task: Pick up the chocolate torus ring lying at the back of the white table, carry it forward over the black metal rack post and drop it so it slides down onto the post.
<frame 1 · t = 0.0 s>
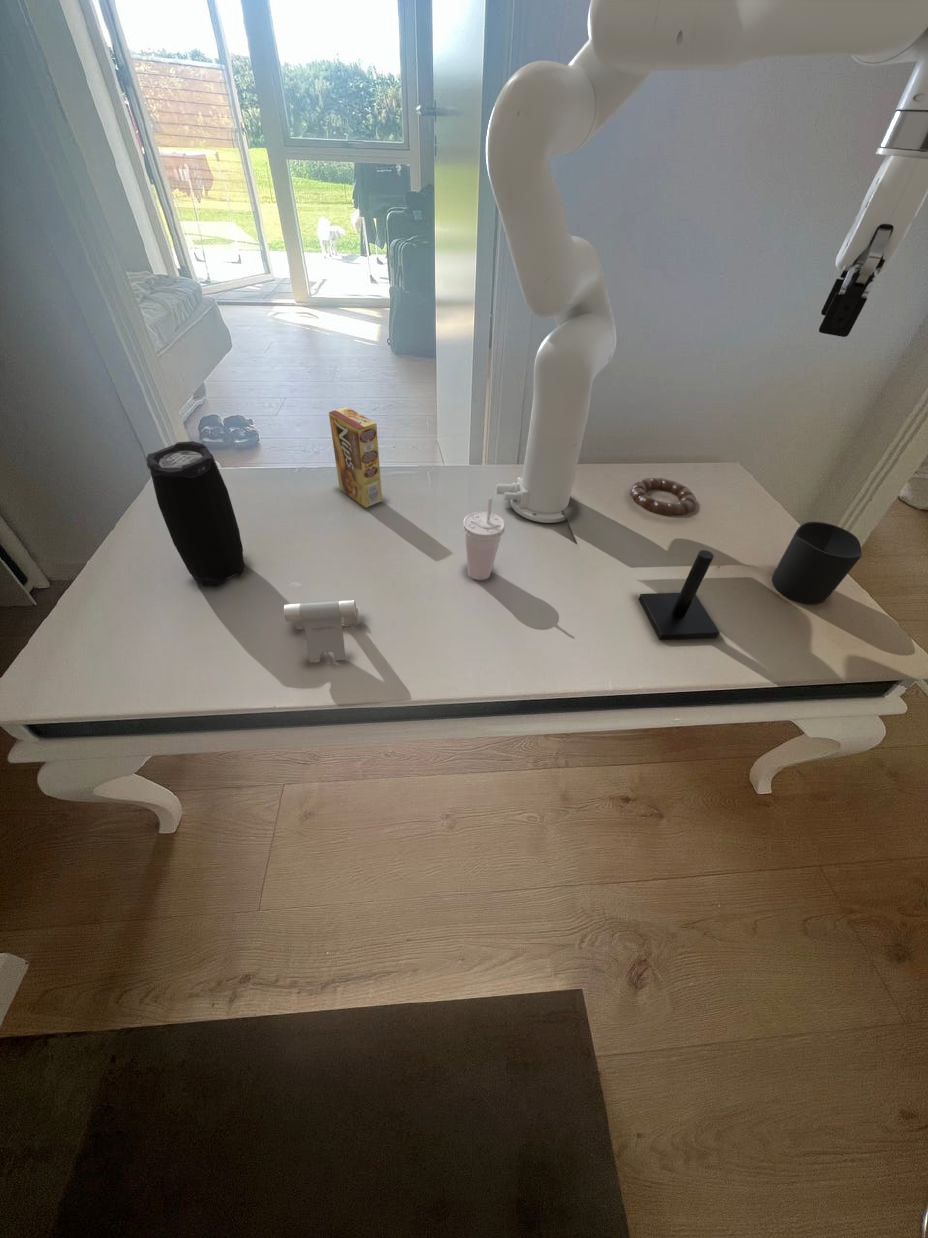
hand: (832, 324, 65), 37 cm above the table, tool pointing down, fingers open, 9 cm apart
chocolate torus ring: (662, 497, 103), point 1 cm above the table
smoothie: (479, 573, 85), on the table
candy box: (360, 496, 100), on the table
rack: (676, 618, 80), on the table
portable speaker: (219, 571, 82), on the table
tablet stand: (328, 641, 73), on the table
pen holder: (797, 589, 87), on the table
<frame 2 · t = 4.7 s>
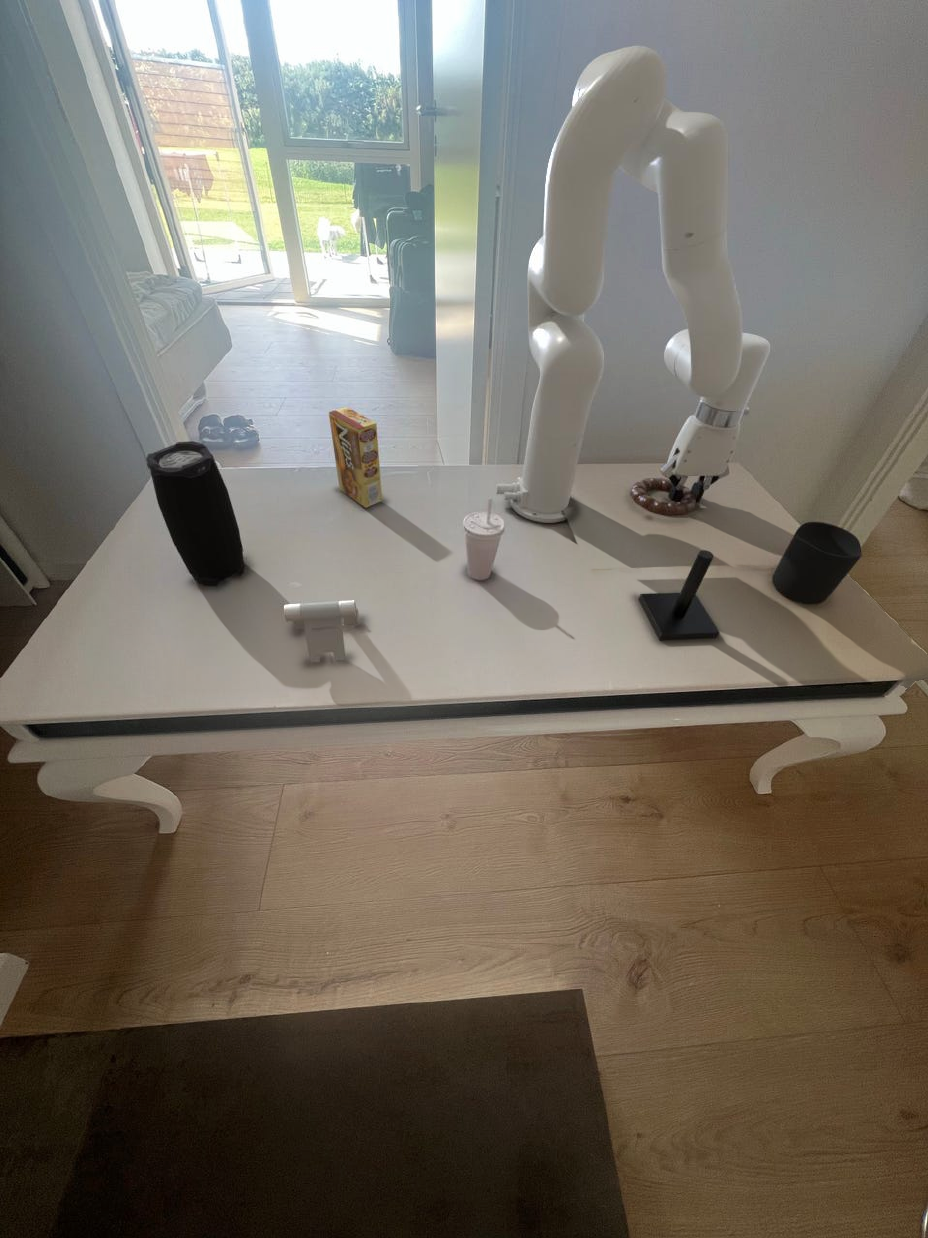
hand: (682, 503, 104), 0 cm above the table, tool pointing down, fingers closed on chocolate torus ring, 3 cm apart
chocolate torus ring: (662, 497, 103), point 2 cm above the table, touching gripper
everything else where it was.
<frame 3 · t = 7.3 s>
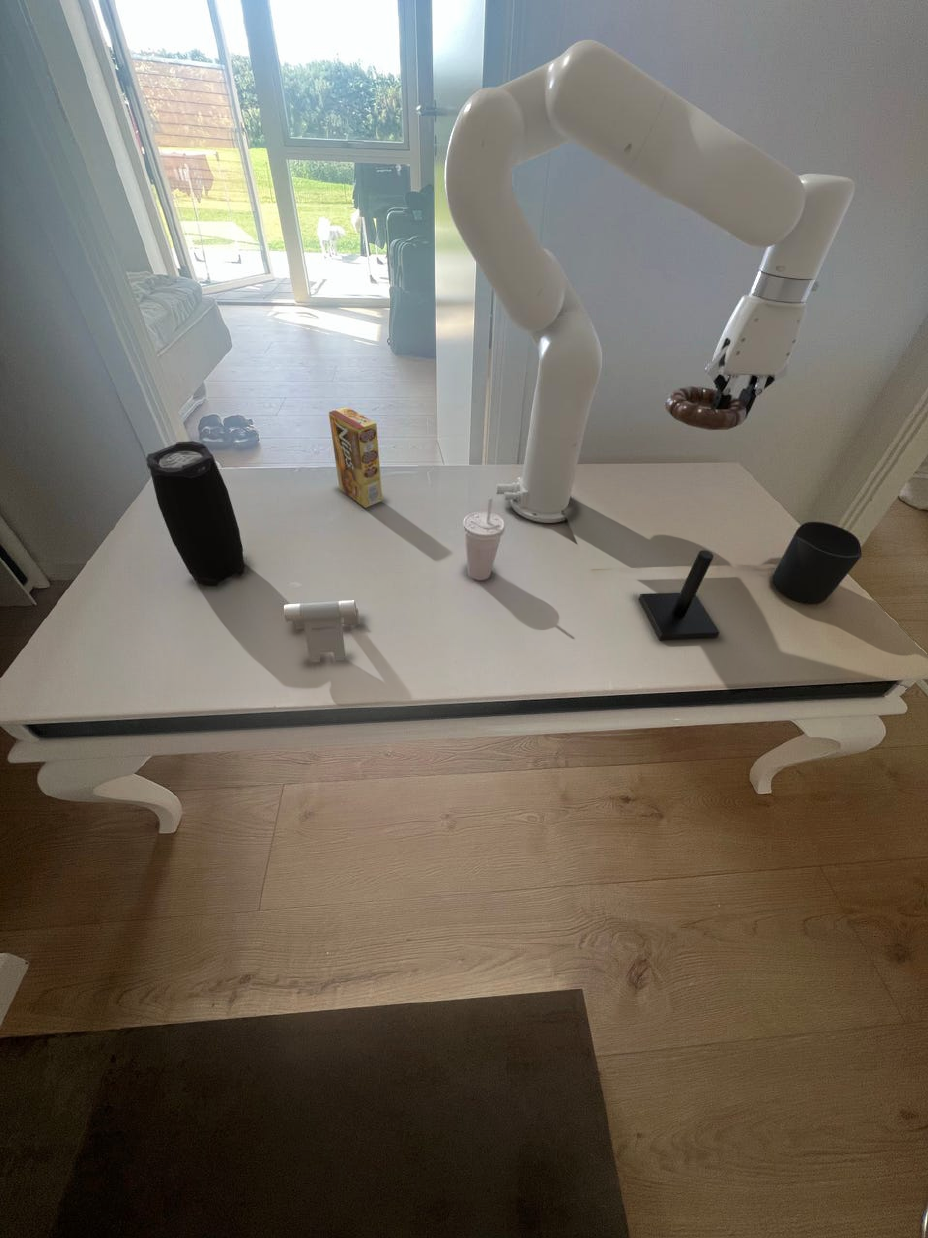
hand: (727, 415, 86), 20 cm above the table, tool pointing down, fingers closed on chocolate torus ring, 3 cm apart
chocolate torus ring: (705, 407, 85), point 21 cm above the table, touching gripper
everything else where it was.
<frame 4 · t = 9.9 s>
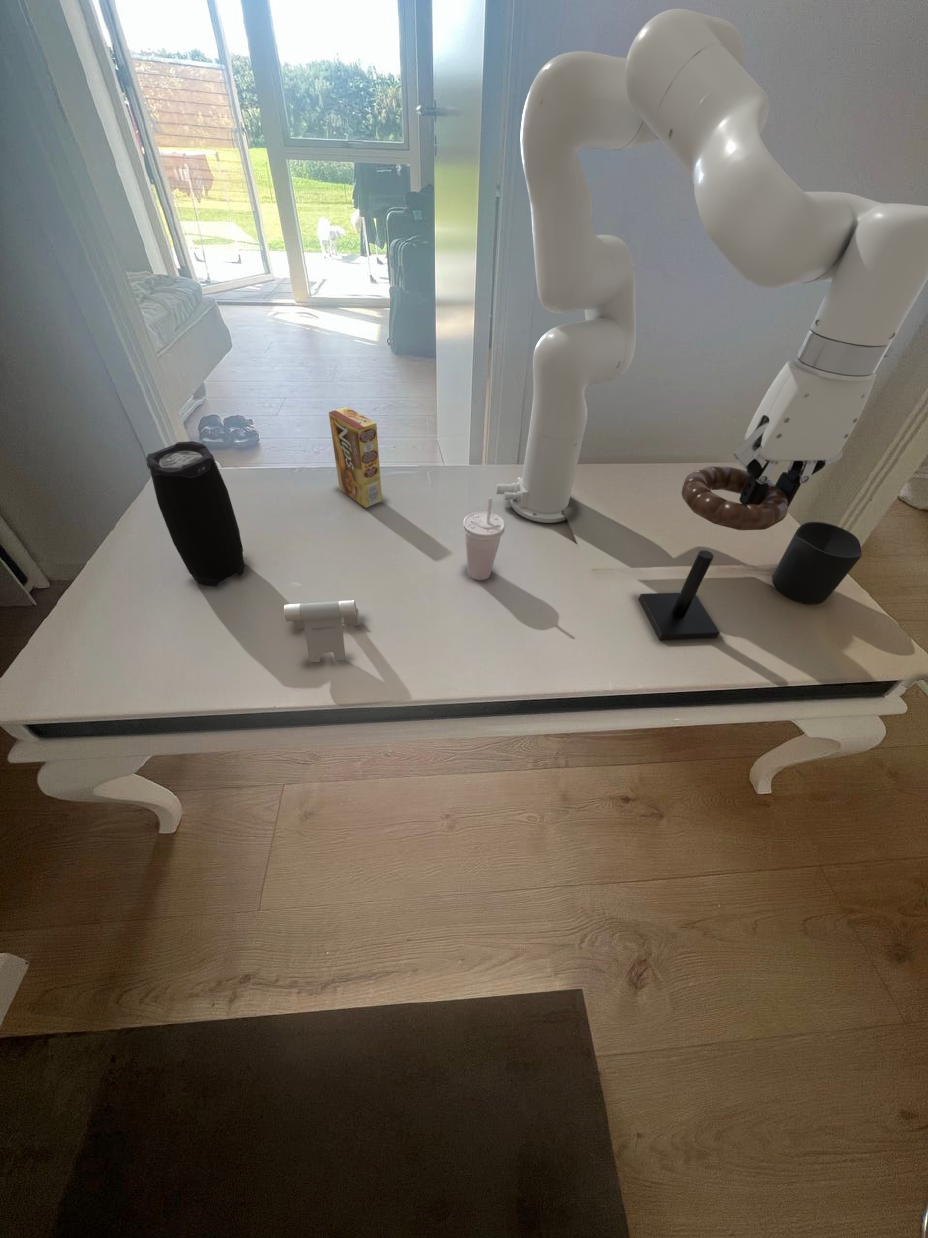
hand: (762, 505, 67), 19 cm above the table, tool pointing down, fingers closed on chocolate torus ring, 3 cm apart
chocolate torus ring: (733, 496, 66), point 21 cm above the table, touching gripper
everything else where it was.
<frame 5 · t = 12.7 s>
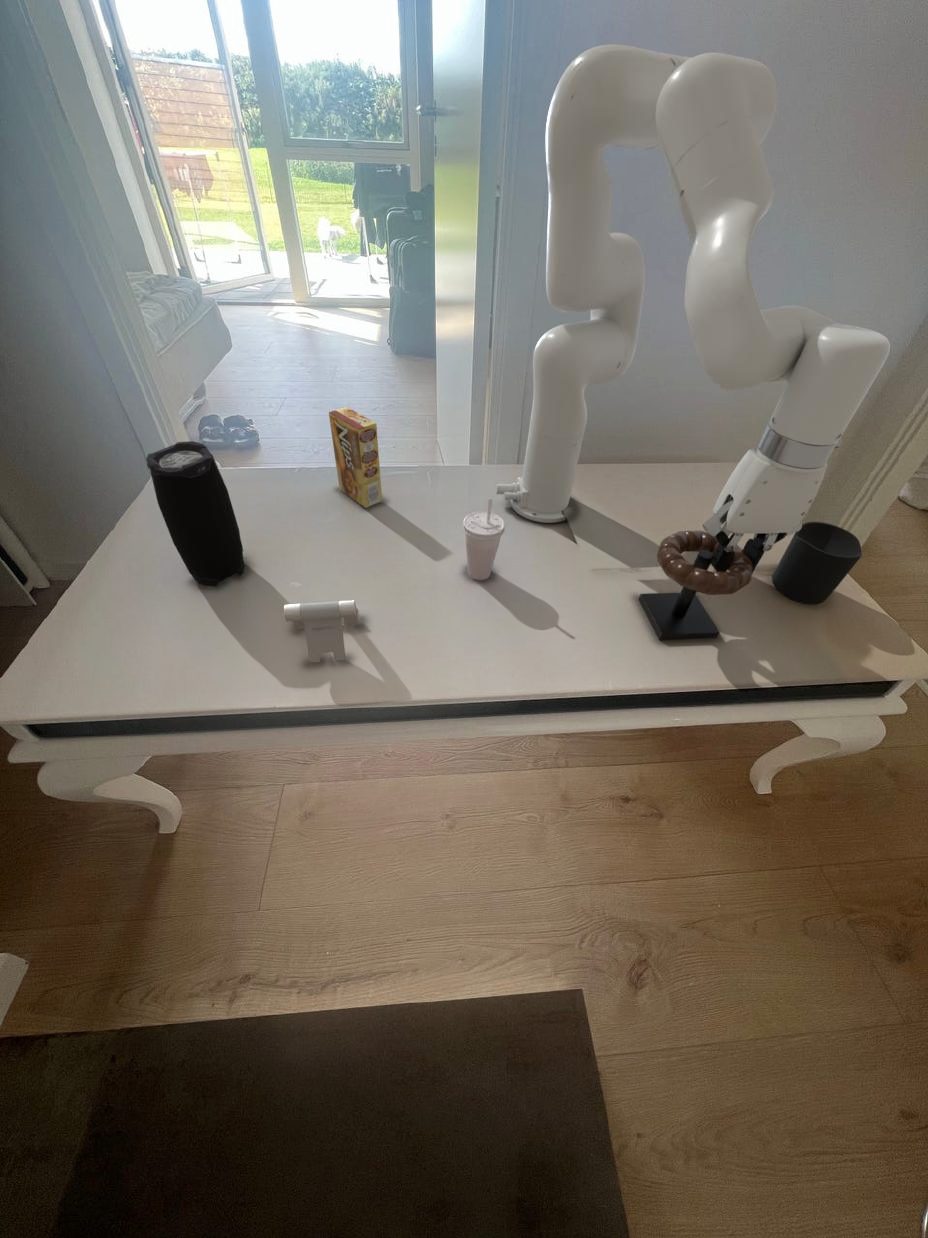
hand: (730, 567, 74), 10 cm above the table, tool pointing down, fingers closed on chocolate torus ring, 3 cm apart
chocolate torus ring: (704, 561, 72), point 11 cm above the table, touching gripper
everything else where it was.
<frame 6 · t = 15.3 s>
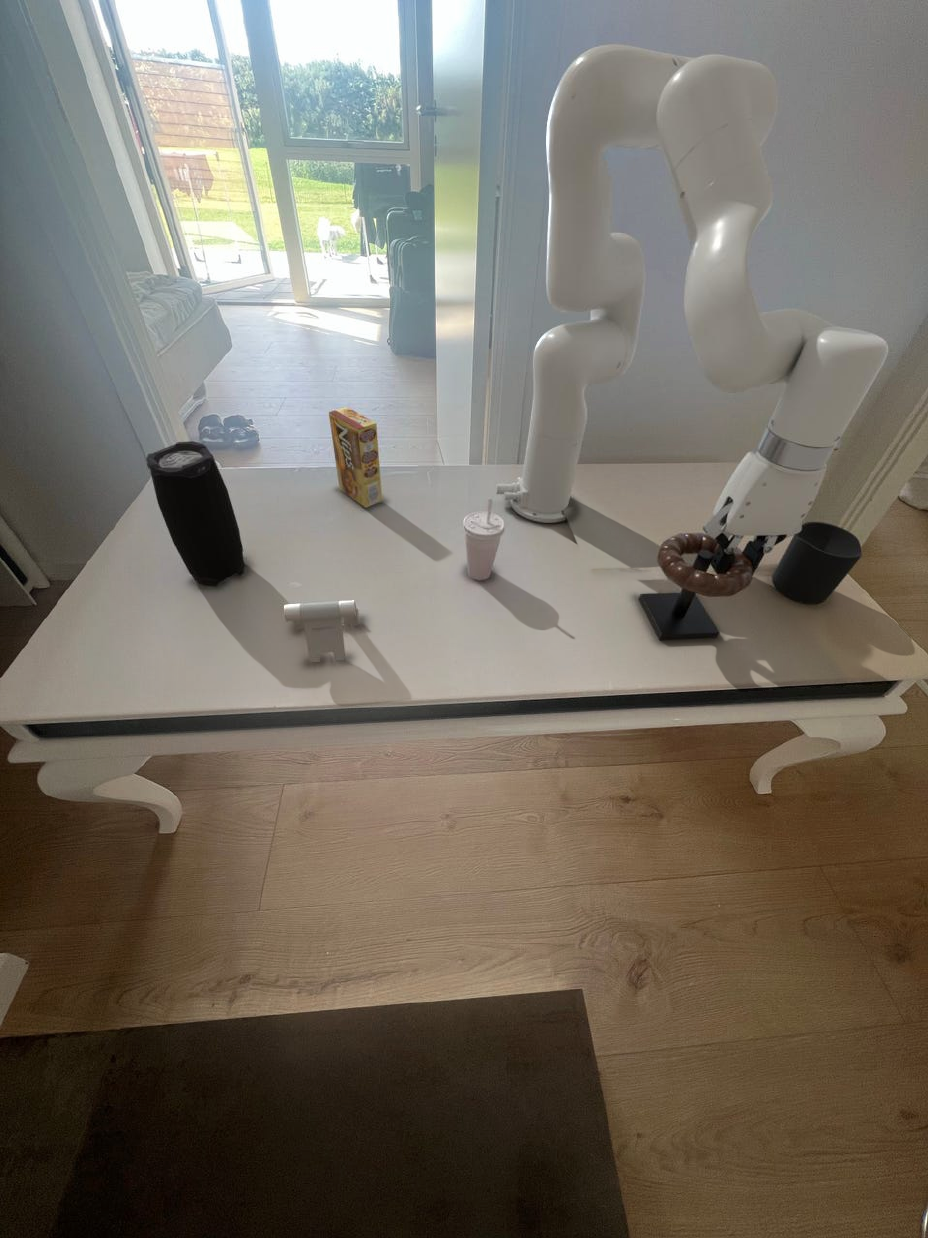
hand: (731, 569, 74), 9 cm above the table, tool pointing down, fingers closed on chocolate torus ring, 3 cm apart
chocolate torus ring: (704, 563, 72), point 11 cm above the table, touching gripper
everything else where it was.
when the fingers open (9 cm above the table, at t = 15.4 s): chocolate torus ring drops 8 cm, resting on rack.
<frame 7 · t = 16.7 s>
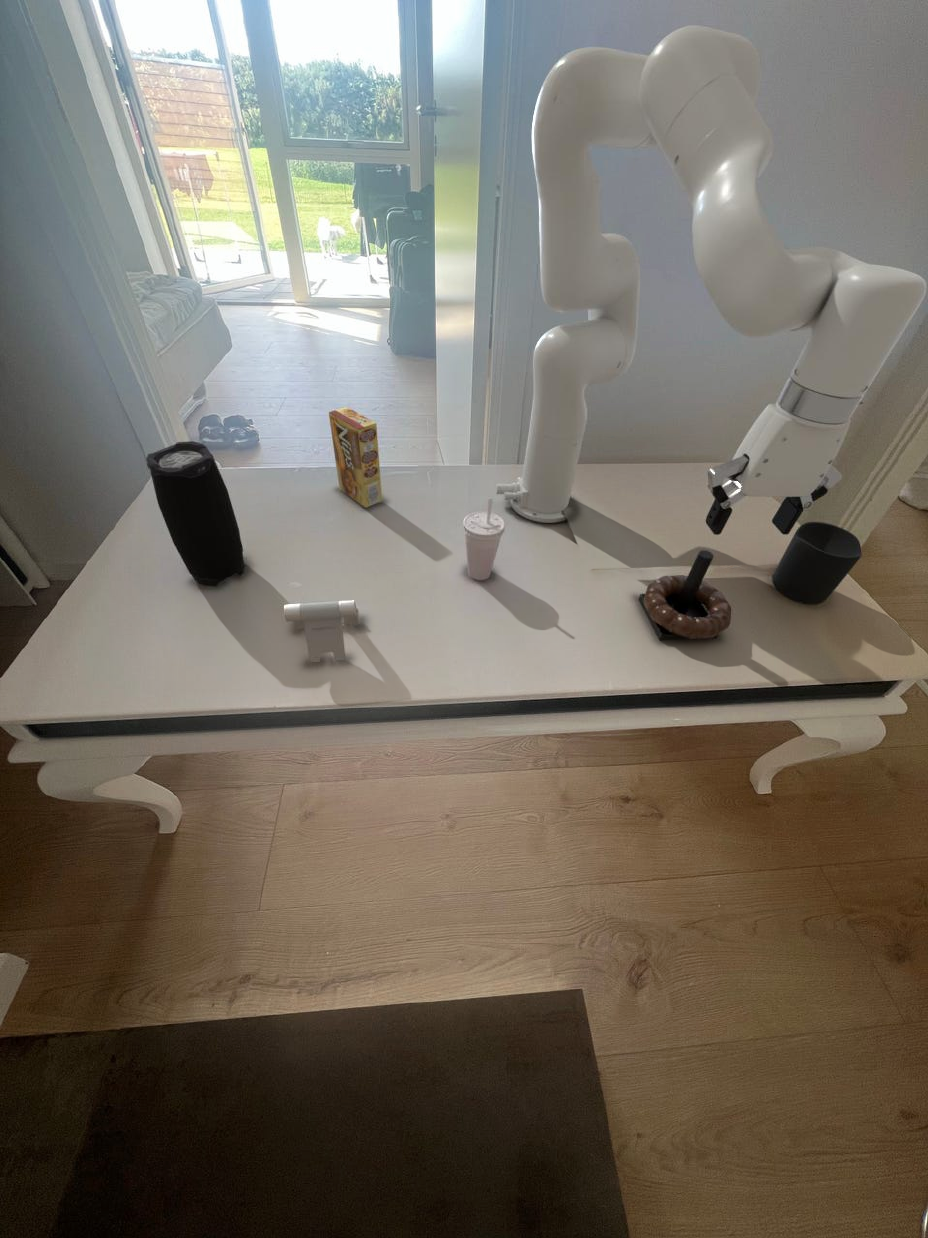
hand: (745, 528, 70), 16 cm above the table, tool pointing down, fingers open, 9 cm apart
chocolate torus ring: (687, 605, 78), point 3 cm above the table, touching rack
everything else where it was.
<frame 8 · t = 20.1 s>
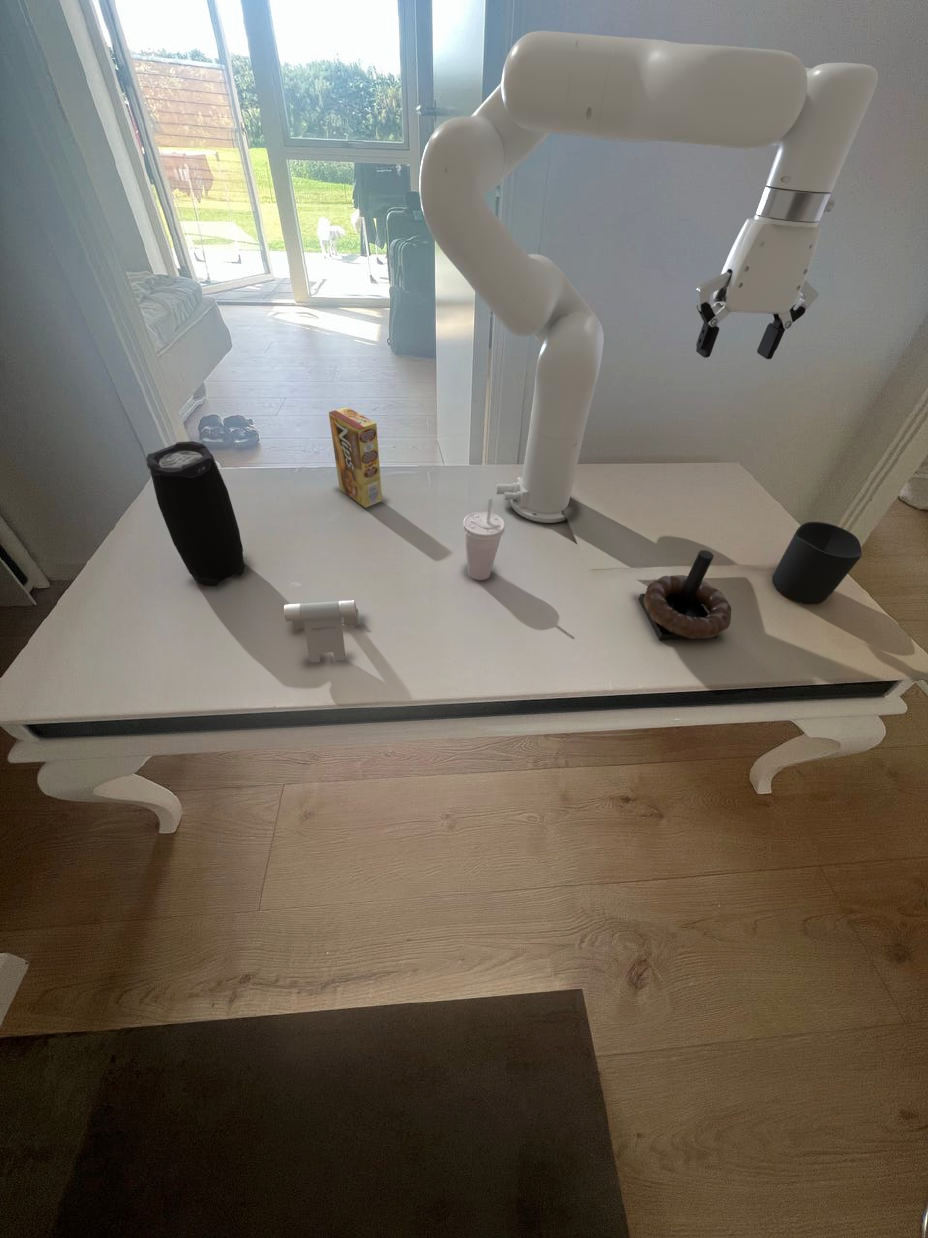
hand: (733, 355, 77), 30 cm above the table, tool pointing down, fingers open, 9 cm apart
nothing on the table moved.
at the end: chocolate torus ring 0.7 cm off-centre on the rack, point 2.7 cm above the rack's base; the gripper is holding nothing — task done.
